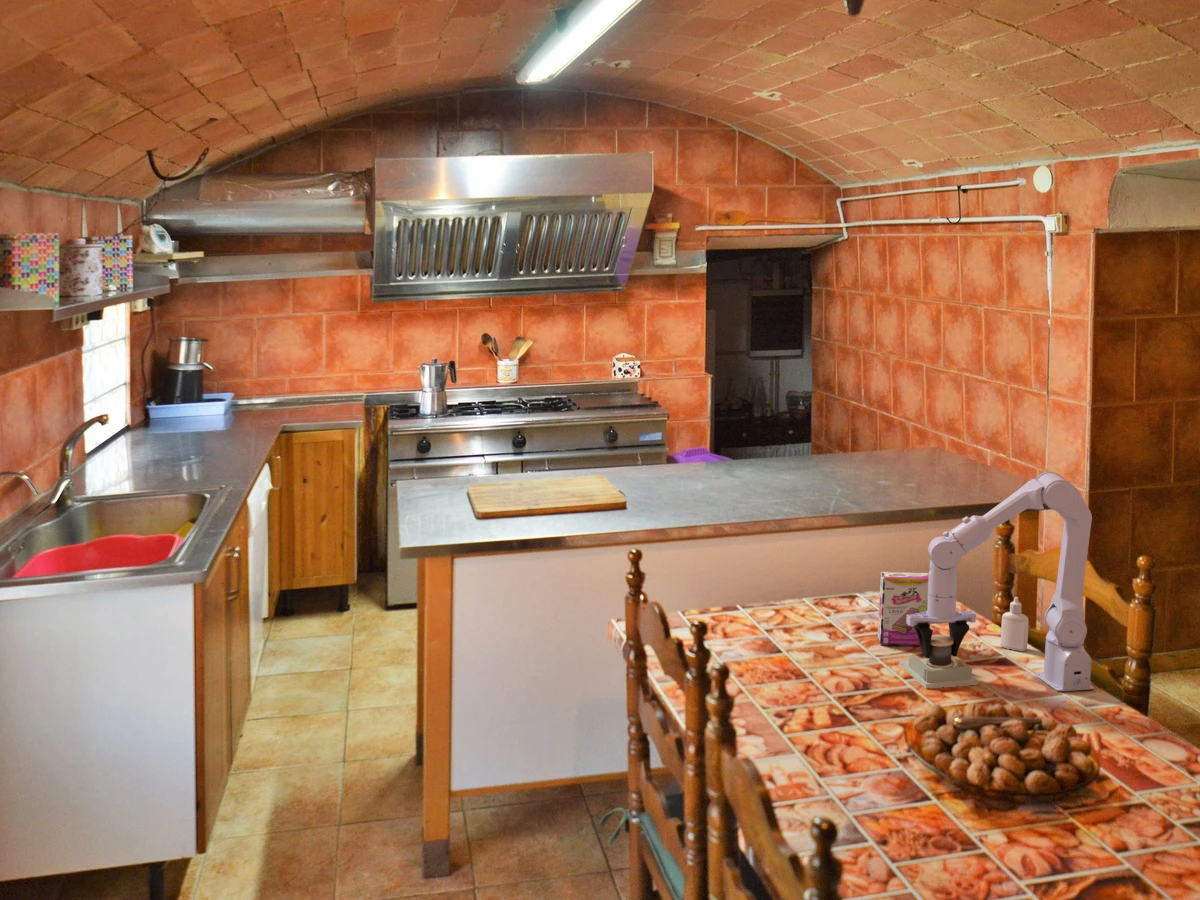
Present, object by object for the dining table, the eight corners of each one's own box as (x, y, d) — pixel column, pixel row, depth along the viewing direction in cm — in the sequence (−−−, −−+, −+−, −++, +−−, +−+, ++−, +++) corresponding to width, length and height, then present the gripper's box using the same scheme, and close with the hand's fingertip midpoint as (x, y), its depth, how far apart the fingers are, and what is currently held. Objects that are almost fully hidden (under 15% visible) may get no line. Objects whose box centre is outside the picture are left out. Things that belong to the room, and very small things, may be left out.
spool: (958, 667, 237) (958, 642, 236) (933, 670, 236) (933, 645, 235) (946, 657, 243) (946, 633, 242) (922, 660, 242) (921, 636, 241)
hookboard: (978, 685, 235) (979, 664, 234) (925, 688, 233) (926, 668, 232) (948, 661, 248) (949, 641, 248) (899, 664, 247) (899, 645, 246)
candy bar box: (880, 646, 259) (882, 577, 256) (877, 638, 263) (879, 571, 261) (930, 647, 257) (933, 578, 255) (926, 640, 262) (929, 571, 259)
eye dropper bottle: (1014, 653, 253) (1017, 602, 251) (997, 645, 258) (999, 595, 256) (1030, 650, 254) (1033, 599, 252) (1012, 643, 260) (1015, 592, 257)
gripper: (966, 586, 242) (963, 647, 244) (901, 590, 240) (899, 651, 242) (981, 596, 235) (978, 658, 237) (915, 600, 233) (912, 662, 235)
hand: (939, 655), depth 239 cm, fingers closed on spool, 5 cm apart
